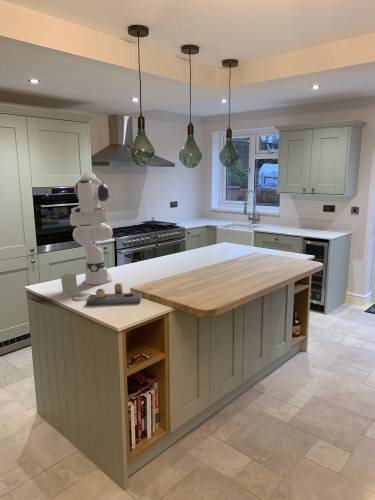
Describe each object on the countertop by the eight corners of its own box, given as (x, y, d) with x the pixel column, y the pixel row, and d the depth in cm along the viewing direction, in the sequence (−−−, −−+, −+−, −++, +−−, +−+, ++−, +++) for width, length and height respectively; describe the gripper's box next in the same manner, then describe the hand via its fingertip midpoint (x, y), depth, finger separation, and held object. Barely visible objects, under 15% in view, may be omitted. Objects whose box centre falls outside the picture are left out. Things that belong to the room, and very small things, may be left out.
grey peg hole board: (91, 299, 227) (90, 294, 226) (142, 297, 227) (141, 292, 226) (87, 305, 217) (86, 300, 216) (140, 303, 217) (139, 297, 217)
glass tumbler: (74, 290, 247) (72, 272, 244) (80, 293, 240) (78, 274, 237) (60, 293, 241) (58, 275, 238) (66, 296, 234) (64, 277, 231)
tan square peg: (98, 301, 224) (97, 288, 222) (105, 300, 224) (104, 288, 222) (97, 303, 220) (95, 290, 218) (104, 303, 220) (102, 290, 218)
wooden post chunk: (116, 295, 233) (115, 283, 231) (123, 295, 233) (122, 283, 231) (115, 297, 229) (114, 285, 227) (122, 297, 229) (121, 284, 227)
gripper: (103, 206, 228) (105, 229, 231) (68, 209, 220) (70, 233, 223) (106, 207, 223) (108, 230, 225) (69, 210, 214) (72, 234, 217)
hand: (89, 232), depth 224 cm, fingers open, 8 cm apart
